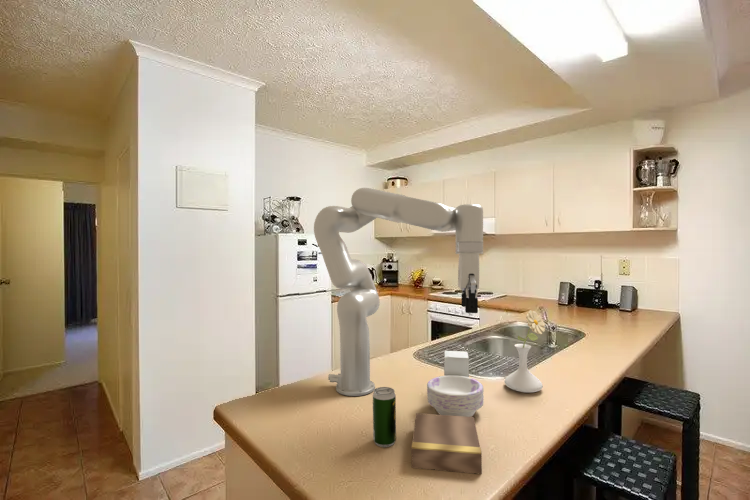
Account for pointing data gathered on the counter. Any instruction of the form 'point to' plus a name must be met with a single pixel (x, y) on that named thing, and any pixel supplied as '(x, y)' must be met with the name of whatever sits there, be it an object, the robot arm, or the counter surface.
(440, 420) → the gold striped gift box
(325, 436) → the counter surface
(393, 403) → the beer can
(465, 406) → the paper bowls
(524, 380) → the flower in vase
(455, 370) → the supplement box
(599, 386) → the counter surface
